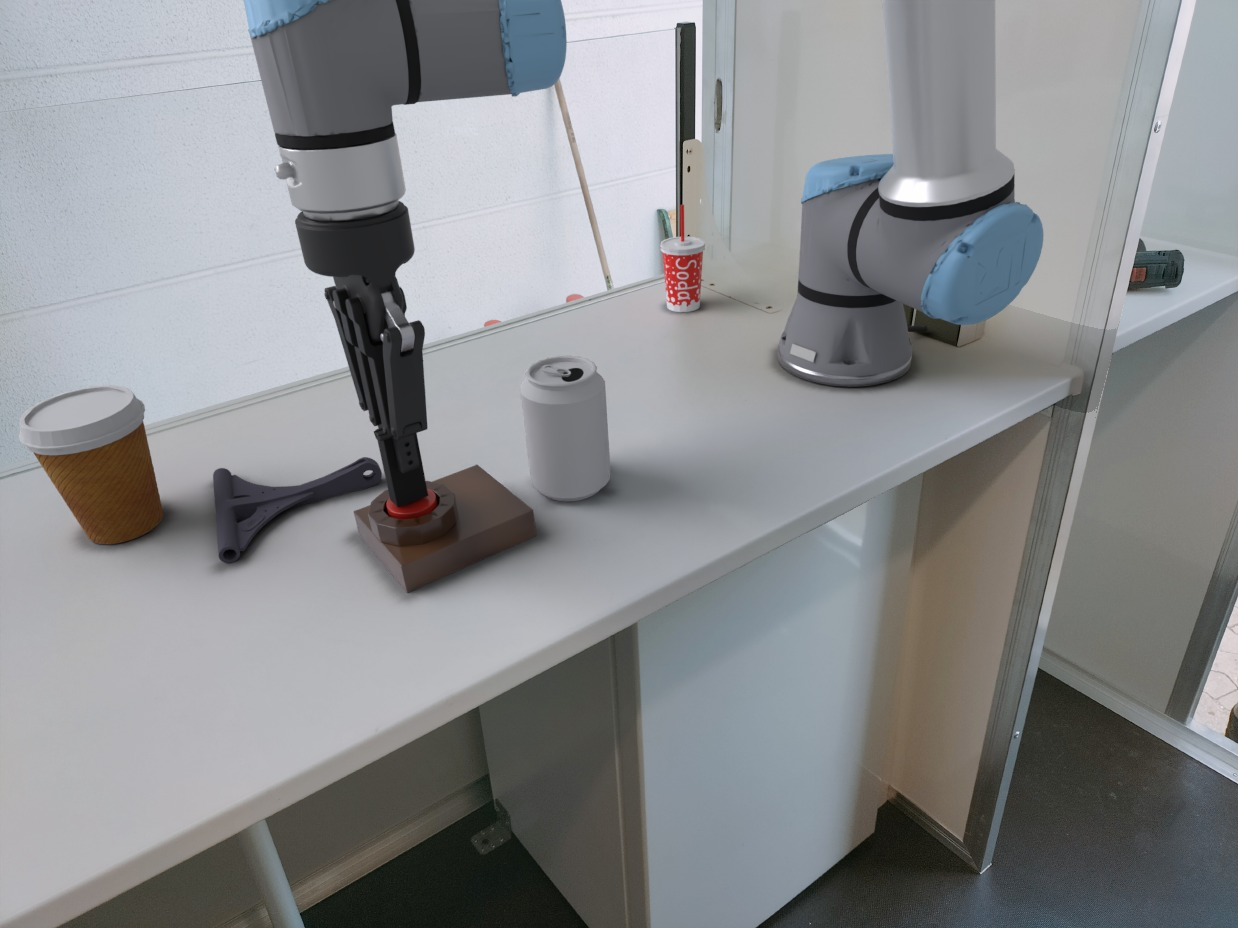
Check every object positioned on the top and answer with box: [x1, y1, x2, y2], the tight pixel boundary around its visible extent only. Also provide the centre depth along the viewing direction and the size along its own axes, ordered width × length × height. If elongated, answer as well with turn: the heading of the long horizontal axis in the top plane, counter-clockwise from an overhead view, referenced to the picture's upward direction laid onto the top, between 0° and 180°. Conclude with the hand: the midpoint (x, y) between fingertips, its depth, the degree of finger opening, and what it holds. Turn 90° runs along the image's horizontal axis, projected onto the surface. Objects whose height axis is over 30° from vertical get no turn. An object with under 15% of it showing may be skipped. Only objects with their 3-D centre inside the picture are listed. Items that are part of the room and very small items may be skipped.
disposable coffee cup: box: [18, 384, 164, 545], centre depth 75 cm, size 10×10×12 cm
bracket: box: [212, 456, 383, 564], centre depth 79 cm, size 14×15×3 cm
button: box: [386, 489, 437, 520], centre depth 70 cm, size 4×4×2 cm
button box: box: [353, 464, 537, 594], centre depth 72 cm, size 12×10×4 cm
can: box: [519, 354, 612, 502], centre depth 77 cm, size 8×8×12 cm
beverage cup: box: [659, 204, 706, 313], centre depth 116 cm, size 6×6×14 cm
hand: (409, 497), depth 70 cm, fingers closed
